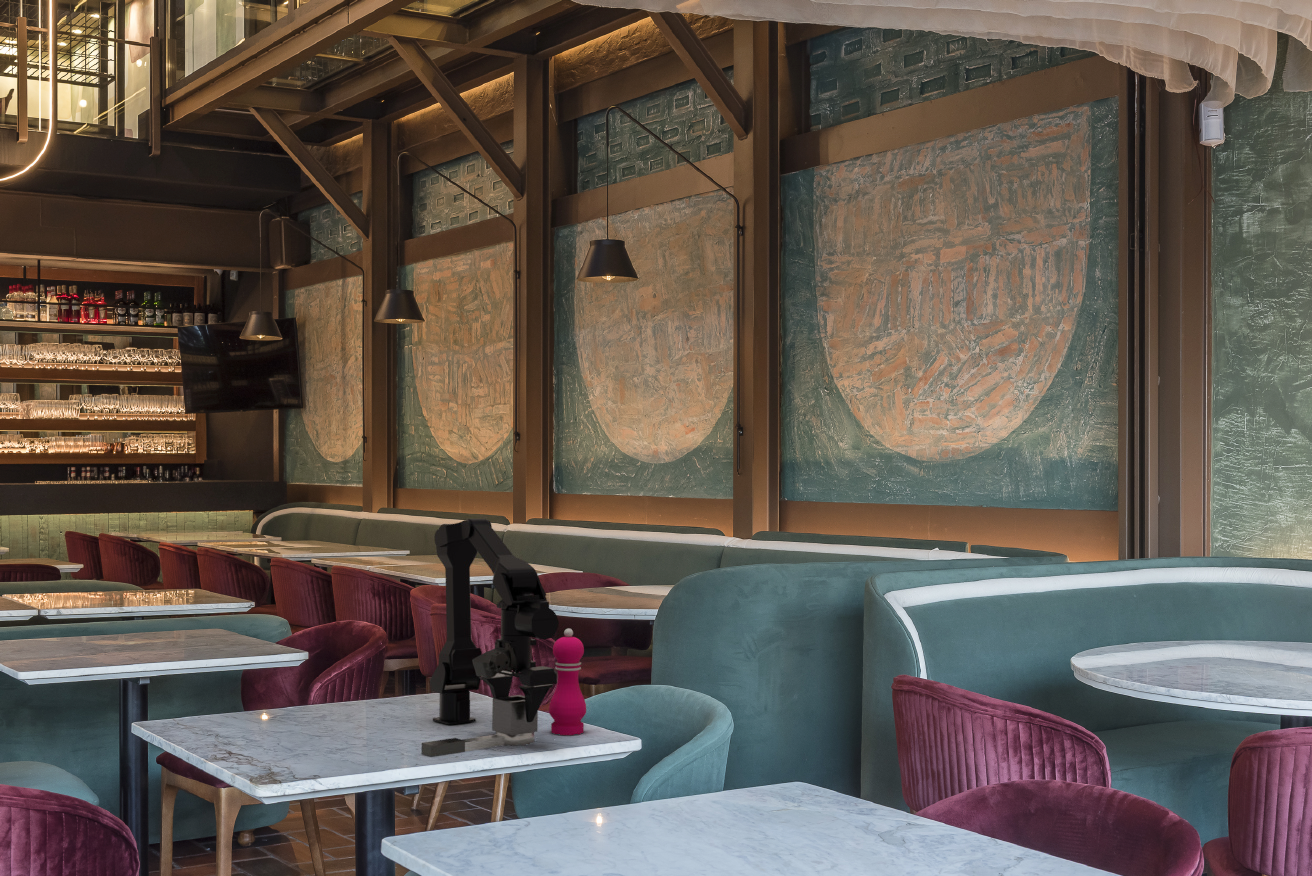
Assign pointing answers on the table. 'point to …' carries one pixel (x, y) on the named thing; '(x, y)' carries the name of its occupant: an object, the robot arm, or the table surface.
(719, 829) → the table surface
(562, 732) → the pepper mill
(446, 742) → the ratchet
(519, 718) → the grey open-top box
